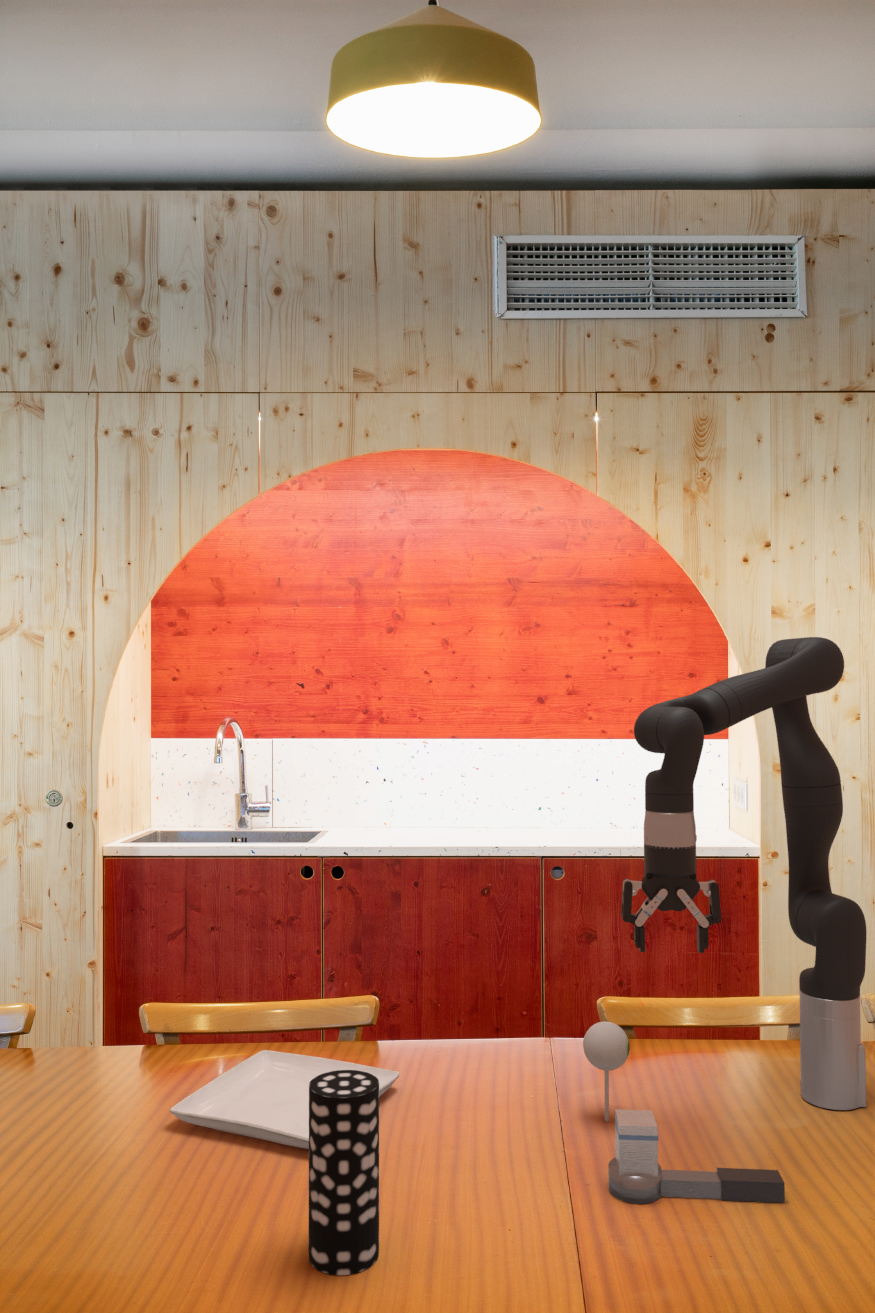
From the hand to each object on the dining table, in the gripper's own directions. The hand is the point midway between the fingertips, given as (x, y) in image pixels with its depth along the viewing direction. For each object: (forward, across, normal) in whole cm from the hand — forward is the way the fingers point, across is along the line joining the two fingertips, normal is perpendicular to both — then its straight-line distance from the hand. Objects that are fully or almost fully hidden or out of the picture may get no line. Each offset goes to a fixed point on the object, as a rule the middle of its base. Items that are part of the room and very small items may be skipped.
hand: (671, 951), depth 145 cm
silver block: (+25, +7, +14) cm, 29 cm away
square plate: (+29, +59, -7) cm, 66 cm away
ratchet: (+28, -1, +14) cm, 31 cm away
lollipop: (+28, +9, -7) cm, 30 cm away
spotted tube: (+28, +43, +32) cm, 61 cm away
